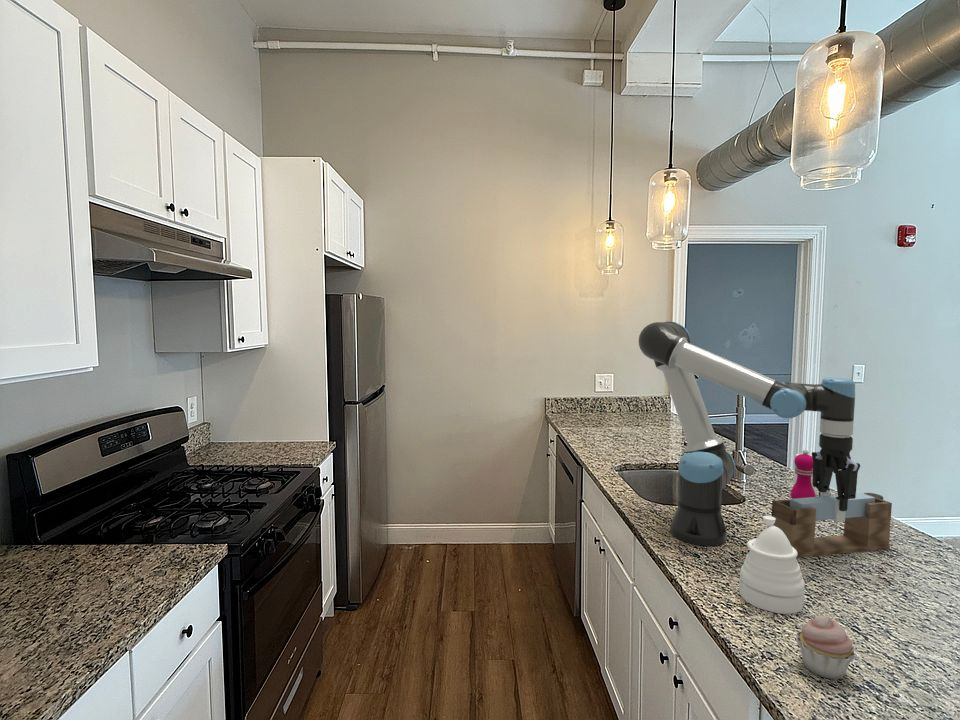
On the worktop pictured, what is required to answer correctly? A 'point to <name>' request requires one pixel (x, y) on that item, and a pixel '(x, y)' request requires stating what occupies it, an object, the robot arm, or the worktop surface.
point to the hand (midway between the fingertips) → (831, 517)
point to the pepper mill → (803, 477)
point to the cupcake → (825, 647)
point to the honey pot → (772, 572)
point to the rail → (833, 505)
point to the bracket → (856, 538)
